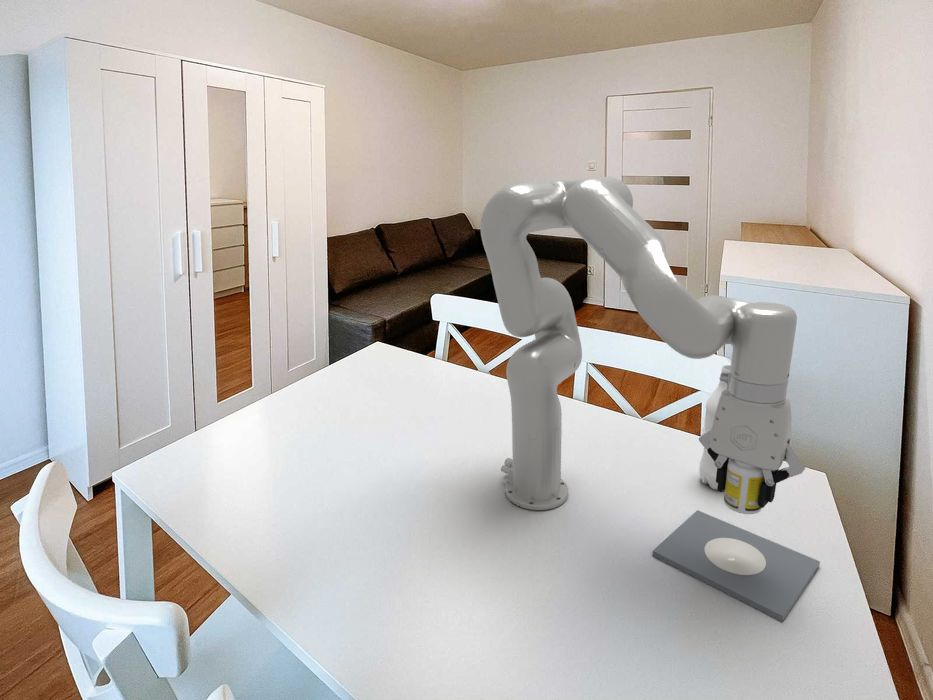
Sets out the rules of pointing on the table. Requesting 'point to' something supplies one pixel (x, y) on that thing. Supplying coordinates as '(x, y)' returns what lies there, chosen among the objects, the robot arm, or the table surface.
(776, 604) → the slate board
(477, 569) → the table surface
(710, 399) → the water bottle
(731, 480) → the supplement bottle
